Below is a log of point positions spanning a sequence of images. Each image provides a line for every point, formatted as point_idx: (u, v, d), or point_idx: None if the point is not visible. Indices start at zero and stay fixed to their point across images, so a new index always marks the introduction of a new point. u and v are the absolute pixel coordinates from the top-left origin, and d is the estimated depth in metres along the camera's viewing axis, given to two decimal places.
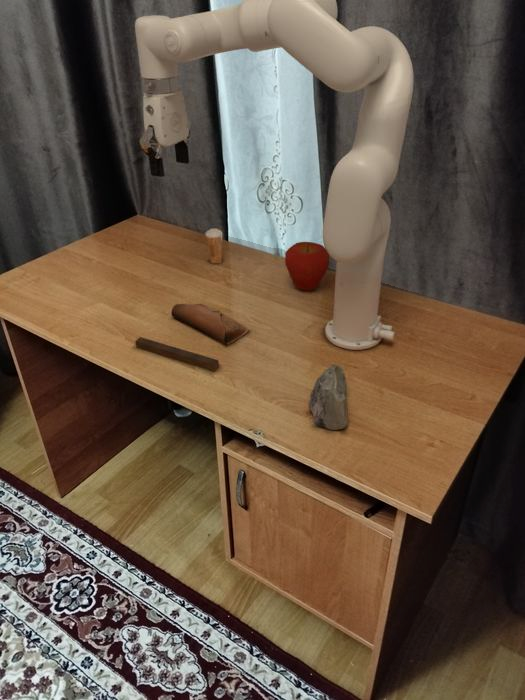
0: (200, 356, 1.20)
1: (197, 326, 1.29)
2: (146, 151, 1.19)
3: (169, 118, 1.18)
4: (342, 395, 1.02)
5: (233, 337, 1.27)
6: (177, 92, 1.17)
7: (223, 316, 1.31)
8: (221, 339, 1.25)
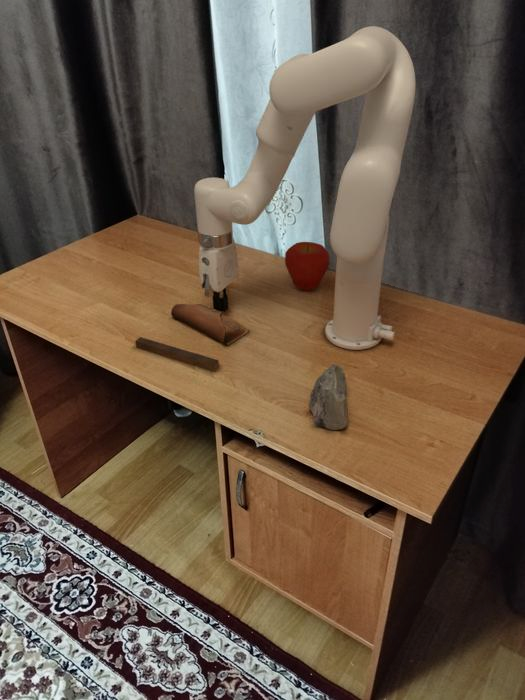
0: (200, 356, 1.20)
1: (197, 326, 1.29)
2: None
3: (223, 267, 1.25)
4: (342, 395, 1.02)
5: (233, 337, 1.27)
6: (231, 244, 1.24)
7: (223, 316, 1.31)
8: (221, 339, 1.25)
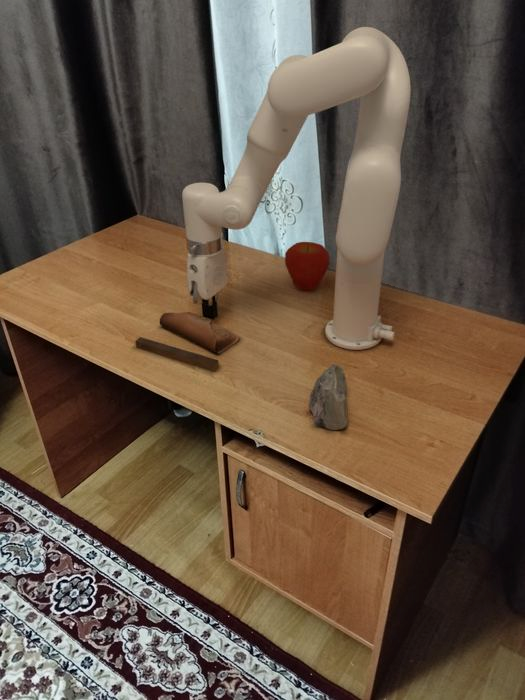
0: (200, 356, 1.20)
1: (187, 335, 1.26)
2: None
3: (211, 274, 1.22)
4: (342, 395, 1.02)
5: (224, 345, 1.24)
6: (220, 251, 1.21)
7: (213, 324, 1.28)
8: (212, 348, 1.22)
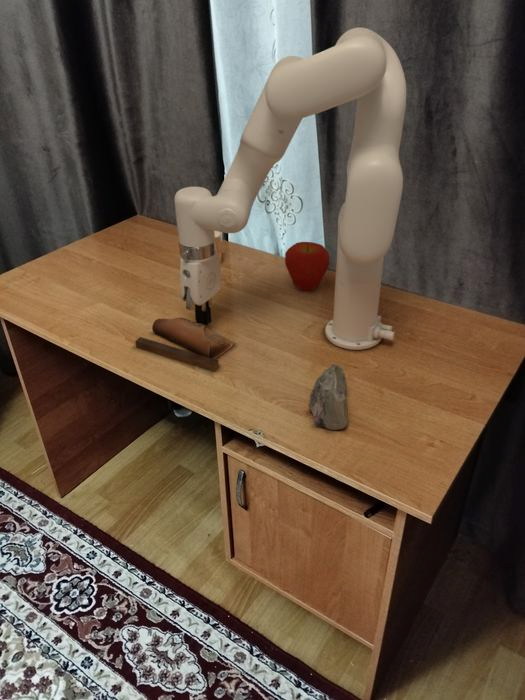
0: (200, 356, 1.20)
1: (180, 341, 1.24)
2: None
3: (205, 279, 1.20)
4: (342, 395, 1.02)
5: (218, 351, 1.22)
6: (213, 255, 1.19)
7: (207, 330, 1.26)
8: (206, 355, 1.20)
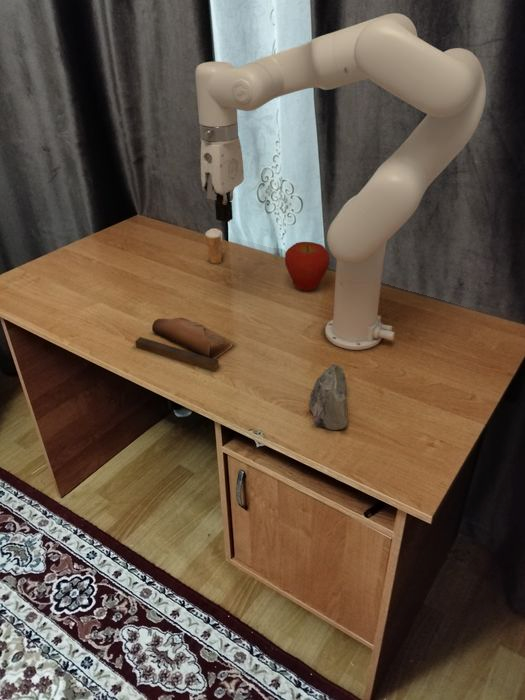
0: (200, 356, 1.20)
1: (180, 341, 1.24)
2: None
3: (227, 165, 1.14)
4: (342, 395, 1.02)
5: (218, 351, 1.22)
6: (236, 139, 1.13)
7: (206, 330, 1.26)
8: (206, 355, 1.20)
